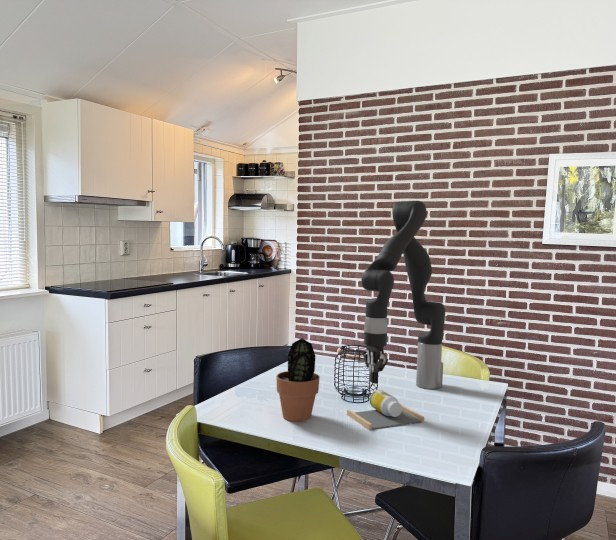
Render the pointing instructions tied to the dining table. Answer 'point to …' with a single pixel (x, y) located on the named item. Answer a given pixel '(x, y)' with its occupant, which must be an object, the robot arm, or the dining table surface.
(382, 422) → the grey flat rectangular board
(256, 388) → the dining table surface
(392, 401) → the pill bottle
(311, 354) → the potted plant
